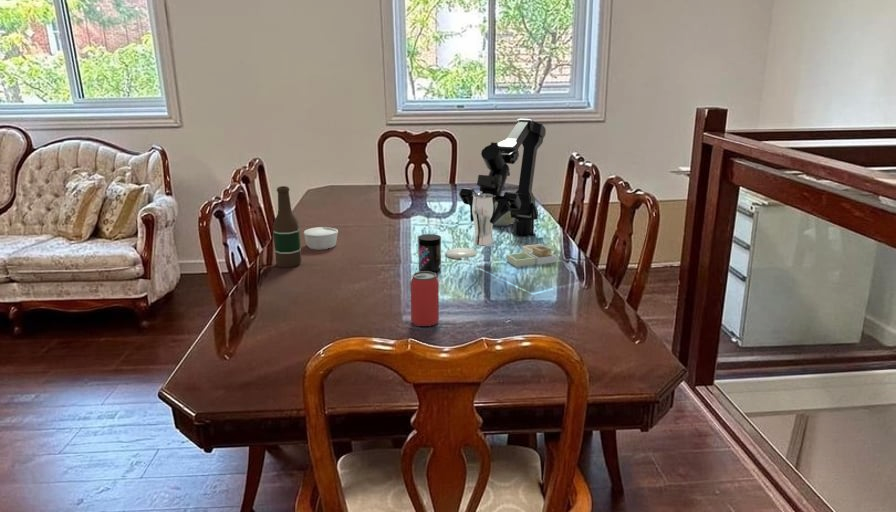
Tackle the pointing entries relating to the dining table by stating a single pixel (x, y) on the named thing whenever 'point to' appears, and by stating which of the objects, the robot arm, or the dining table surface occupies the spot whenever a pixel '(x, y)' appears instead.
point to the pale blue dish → (543, 259)
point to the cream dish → (529, 248)
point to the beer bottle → (286, 232)
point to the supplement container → (429, 252)
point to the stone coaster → (460, 253)
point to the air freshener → (504, 218)
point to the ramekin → (321, 237)
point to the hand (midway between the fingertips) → (481, 222)
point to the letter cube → (541, 251)
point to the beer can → (424, 298)
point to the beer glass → (483, 218)
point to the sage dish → (520, 259)
